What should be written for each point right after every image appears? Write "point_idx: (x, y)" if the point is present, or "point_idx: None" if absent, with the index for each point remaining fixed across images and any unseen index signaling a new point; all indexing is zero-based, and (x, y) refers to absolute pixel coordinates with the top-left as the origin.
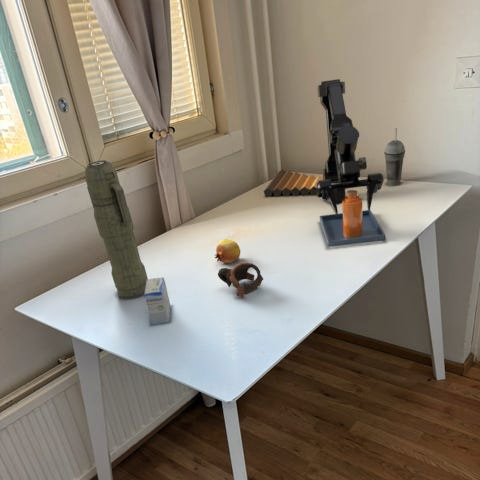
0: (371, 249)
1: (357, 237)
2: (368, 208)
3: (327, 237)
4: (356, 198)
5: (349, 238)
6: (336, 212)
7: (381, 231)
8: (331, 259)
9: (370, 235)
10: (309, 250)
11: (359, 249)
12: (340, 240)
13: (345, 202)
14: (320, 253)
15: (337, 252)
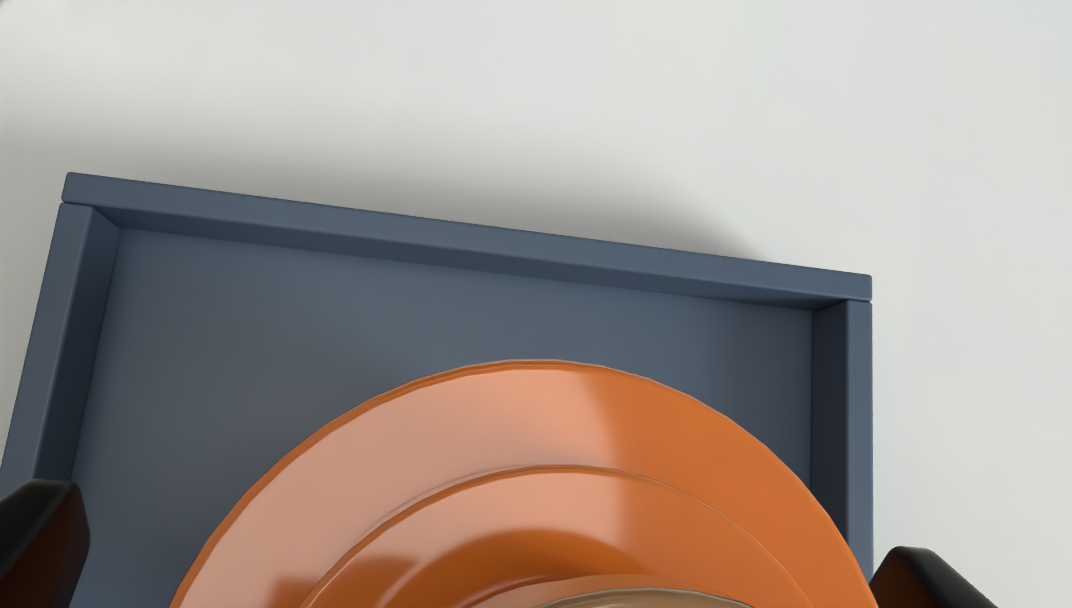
0: (353, 92)
1: (479, 248)
2: (67, 524)
3: (864, 415)
4: (425, 574)
5: (591, 261)
6: (930, 554)
7: (63, 322)
8: (822, 35)
9: (231, 423)
10: (1019, 341)
11: (484, 147)
12: (714, 256)
13: (829, 600)
14: (913, 217)
15: (736, 169)
